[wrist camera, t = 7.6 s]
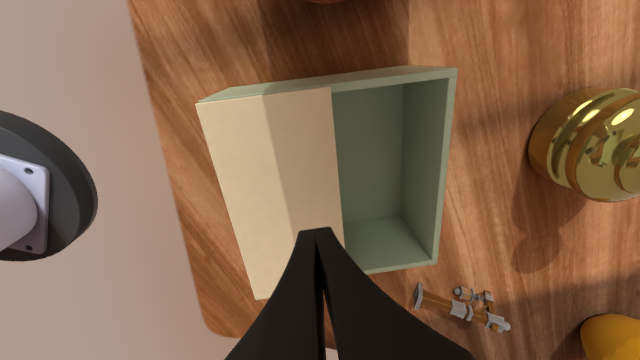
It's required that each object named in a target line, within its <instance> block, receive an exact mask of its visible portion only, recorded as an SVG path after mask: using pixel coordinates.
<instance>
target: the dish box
mask: <svg viewBox="0 0 640 360" xmlns="http://www.w3.org/2000/svg"><path fill="white" fill-rule="evenodd" d="M457 70H458V68H455V67H435V66H416V65H403V66H395V67H388V68H380V69H372V70H364V71H356V72H348V73H340V74H332V75H324V76H317V77H309V78H301V79H293V80H285V81H277V82H269V83H261V84H253V85H245V86H238V87H230V88H227V89H225V90H222V91H220V92H218V93H215V94H213V95H211V96H209V97H206V98H204V99H202V100H199V103H202V102H210V101H218V100H226V99H233V98H241V97H249V96H257V95H264V94H272V93H280V92H288V91H295V90H303V89H311V88H319V87H326V86H330V87H331V99H332V110H333V121H334V132H335V143H336V154H337V165H338V177H339V188H340V199H341V210H342V221H343V232H344V243H345V250H346V252H347V253H348V254H349V255H350V257H351V258H352V259H353V261H354V262H355V263H356V264H357V265H358V266H359V267H360V269H361V270H362V271H363V272H364V273H365V274H366V275H368V274H374V273H381V272H387V271H394V270H400V269H407V268H413V267H420V266H426V265H433V264H437V259H438V250H439V240H440V231H441V221H442V212H443V202H444V193H445V183H446V174H447V165H448V155H449V146H450V136H451V127H452V117H453V108H454V98H455V89H456V80H457V77H456V76H457Z"/></svg>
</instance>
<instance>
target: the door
mask: <svg viewBox="0 0 640 360" xmlns="http://www.w3.org/2000/svg"><path fill="white" fill-rule="evenodd" d="M195 106H196V110H197V113H198V116H199V119H200V122H201V126H202V129H203V132H204V135H205V139H206V142H207V145H208V148H209V152H210V155H211V158H212V161H213V164H214V168H215V171H216V174H217V177H218V181H219V184H220V187H221V190H222V193H223V197H224V200H225V203H226V206H227V210H228V213H229V216H230V219H231V223H232V226H233V229H234V232H235V235H236V239H237V242H238V245H239V248H240V252H241V255H242V258H243V261H244V264H245V268H246V271H247V274H248V277H249V281H250V284H251V287H252V290H253V293H254V297H255V300H260V299H266V298H270V297H271V295H272V293H273V291H274V290H275V288H276V286H277V284H278V282H279V280H280V278H281V276H282V274H283V272H284V270H285V268H286V266H287V263H288V261H289V259H290V256H291V254H292V251H293V248H294V246H295V243H296V239H297V235H298V232H299V231H301V230H308V229H315V228H321V227H328V226H329V227H331V228H332V230H333V232H334V234H335V236H336V237H337V239H338V240H339V242H340V243H341V245H342V246H343V248H344V249H345V243H344V232H343V221H342V210H341V199H340V188H339V177H338V165H337V154H336V143H335V132H334V121H333V110H332V99H331V87H330V86H326V87H319V88H311V89H303V90H295V91H288V92H280V93H272V94H264V95H257V96H249V97H241V98H233V99H226V100H218V101H210V102H202V103H197V104H195Z"/></svg>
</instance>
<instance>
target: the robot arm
mask: <svg viewBox="0 0 640 360" xmlns="http://www.w3.org/2000/svg"><path fill="white" fill-rule="evenodd" d="M30 169H31V170H32V171H33V172H32V171H31V170H30ZM49 186H50V172H49V171H48V169H47V168H45V167H43V166H40V165H37V164H34V163H30V162H27V161H23V160H20V159H16V158H13V157H10V156H6V155H3V154H0V251H2V250H3V249H5V248H6V247H7V248H12V249H16V250H21V251H25V252H30V253H35V254H42V253H43V252H45V251H46V250H47V239H48V213H49ZM323 290H324V295H325V299H326V303H327V307H328V312H329V316H330V320H331V325H332V329H333V333H334V338H335V342H336V347H337V352H338V358H339V360H476V359H475V358H474V357H473V355H472V354H471V353H470V352H469V351H468V350H466V349H464V348H463V347H461V346H459V345H458V344H456V343H454V342H453V341H451V340H449V339H448V338H446V337H444V336H443V335H441V334H439V333H438V332H436V331H435V330H433V329H432V328H430V327H429V326H427V325H426V324H425V323H423V322H422V321H420V320H419V319H417V318H416V317H415V316H413V315H412V314H411V313H409V312H408V311H407V310H406V309H404V308H403V307H402V306H400V305H399V304H398V303H396V302H395V301H394V300H393V299H392V298H390V297H389V296H388V295H387V294H386V293H385V292H384V291H382V290H381V289H380V288H379V287H378V286H377V285H376V284H375V283H374V282H373V281H372V280H371V279H370V278H369V277H368V276H367V275H366V274H365V273H364V272H363V271H362V270H361V269H360V267H359V266H358V265H357V264H356V263H355V262H354V261H353V259H352V258H351V257H350V255H349V254H348V253H347V252H346V250H345V249H344V248H343V246H342V245H341V243H340V242H339V240H338V239H337V237H336V236H335V234H334V232H333V230H332V228H331V227H329V226H328V227H321V228H315V229H308V230H301V231H299V232H298V235H297V239H296V243H295V246H294V248H293V251H292V254H291V256H290V259H289V261H288V263H287V266H286V268H285V270H284V272H283V274H282V276H281V278H280V280H279V282H278V284H277V286H276V288H275V290H274V291H273V293H272V295H271V297H270V298H269V300H268V301H267V303H266V305H265V306H264V308H263V309H262V311H261V312H260V314H259V315H258V317H257V318H256V320H255V321H254V322H253V324H252V325H251V327H250V328H249V329H248V331H247V332H246V333H245V335H244V336H243V337H242V338H241V340H240V341H239V342H238V343H237V345H236V346H235V347H234V348H233V349H232V351H231V352H230V353H229V355H228V356H227V357H226V358H225V360H326V350H325V328H324V299H323Z"/></svg>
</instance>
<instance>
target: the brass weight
mask: <svg viewBox="0 0 640 360" xmlns="http://www.w3.org/2000/svg"><path fill="white" fill-rule="evenodd" d="M528 157H529V161H530V164H531V166H532V168H533V169H534V170H535V171H536V172H537V173H538V174H539V175H541V176H543V177H545V178H547V179H549V180H552V181H554V182H555V183H557V184H558V185H560V186H562V187H565V188H569V189H573V190H575V191H576V192H577V193H579V194H580V195H582V196H583V197H585V198H587V199H589V200H592V201H596V202H603V203H613V202H621V201H626V200H629V199H633V198H636V197H638V196H640V92H639V91H637V90H634V89H629V88H619V89H615V88H605V87H588V88H584V89H580V90H577V91H575V92H573V93H571V94H569V95H567V96H565V97H563V98H562V99H560V100H559V101H558V102H556V103H555V104H554V105H553V106H552V107H551V108H550V109H549V110H548V111H547V112H546V113H545V114H544V115H543V116H542V118H541V119H540V120H539V122H538V123H537V125H536V127H535V128H534V130H533V133H532V135H531V138H530V141H529V147H528Z"/></svg>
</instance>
